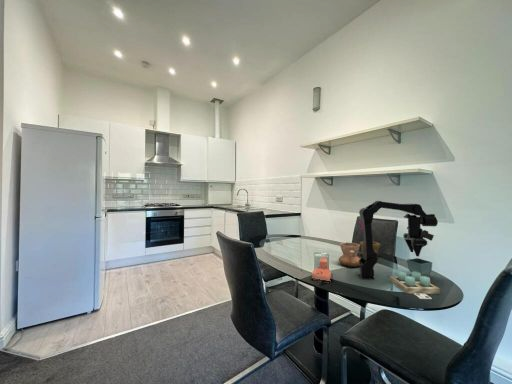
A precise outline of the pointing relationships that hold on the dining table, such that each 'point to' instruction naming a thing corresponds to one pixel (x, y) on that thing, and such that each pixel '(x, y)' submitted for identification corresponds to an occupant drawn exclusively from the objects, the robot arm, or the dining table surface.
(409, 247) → the robot arm
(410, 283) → the button
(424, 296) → the card
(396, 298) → the dining table surface
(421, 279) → the button
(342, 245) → the ceramic jug
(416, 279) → the button
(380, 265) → the dining table surface
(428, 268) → the flower pot
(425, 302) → the dining table surface
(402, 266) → the dining table surface
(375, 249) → the flowerpot
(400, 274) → the button
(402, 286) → the board
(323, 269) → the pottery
